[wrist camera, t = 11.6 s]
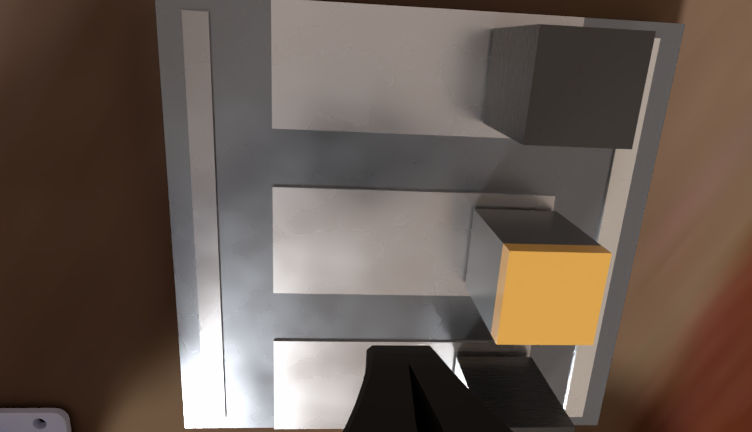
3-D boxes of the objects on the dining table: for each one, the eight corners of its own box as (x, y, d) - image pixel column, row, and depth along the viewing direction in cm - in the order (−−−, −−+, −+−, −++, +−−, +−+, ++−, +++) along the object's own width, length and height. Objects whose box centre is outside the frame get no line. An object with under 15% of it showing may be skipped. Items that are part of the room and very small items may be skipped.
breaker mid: (465, 286, 20) (496, 344, 16) (473, 208, 19) (509, 250, 15) (543, 287, 20) (593, 345, 16) (556, 211, 19) (611, 253, 15)
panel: (194, 403, 22) (148, 520, 17) (168, -5, 17) (92, -27, 12) (581, 402, 24) (655, 510, 18) (658, 25, 19) (791, 18, 13)
